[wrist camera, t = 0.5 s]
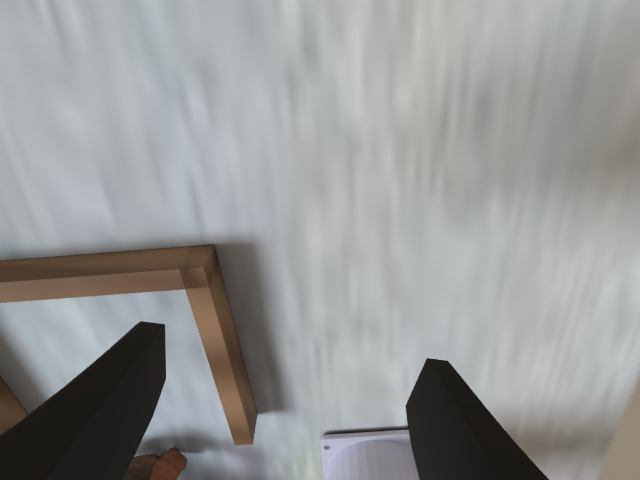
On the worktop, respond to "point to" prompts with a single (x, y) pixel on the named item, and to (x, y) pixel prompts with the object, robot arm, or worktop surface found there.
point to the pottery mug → (156, 466)
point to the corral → (134, 277)
